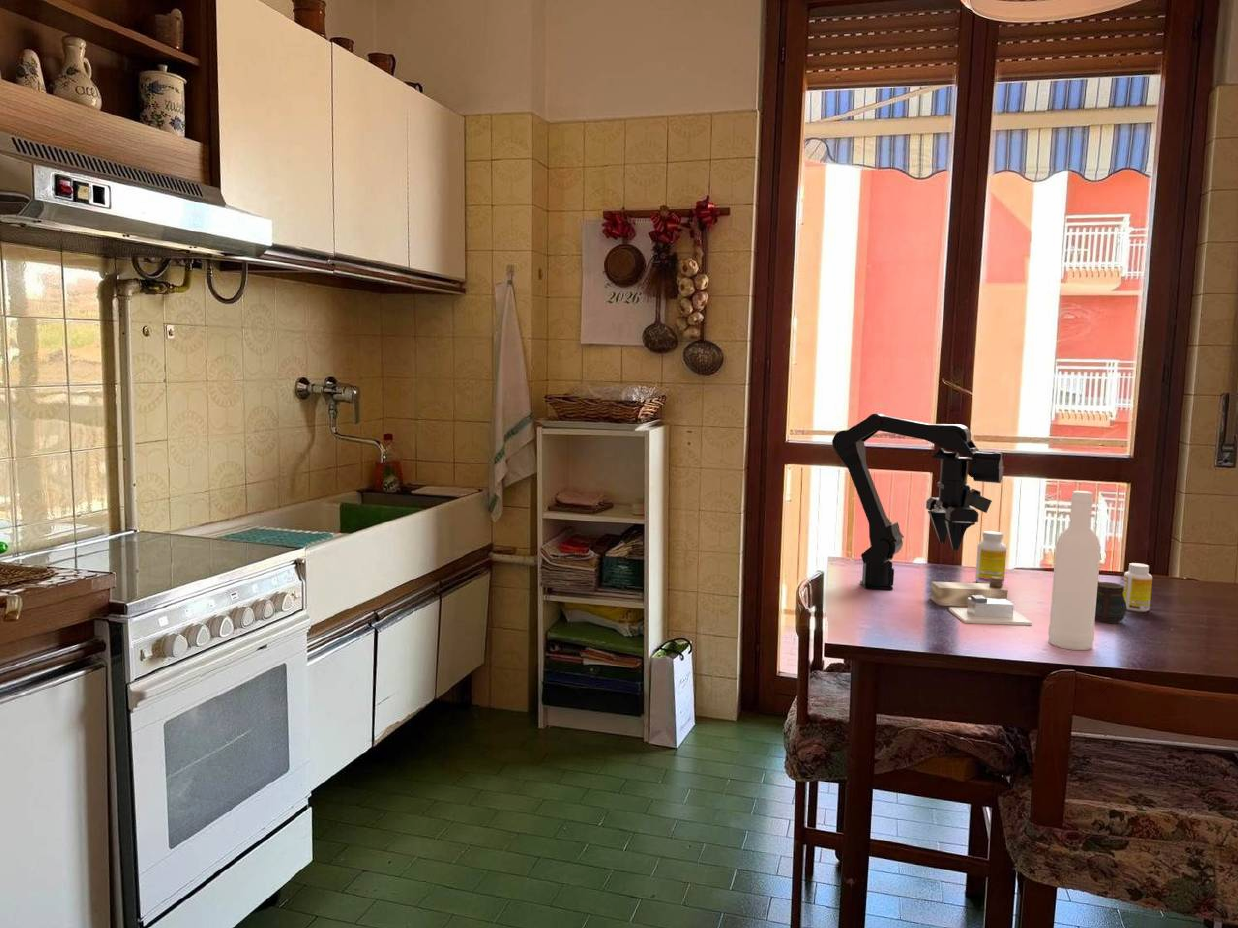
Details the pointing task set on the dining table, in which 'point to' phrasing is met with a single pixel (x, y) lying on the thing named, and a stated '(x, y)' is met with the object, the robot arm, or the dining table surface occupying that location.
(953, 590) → the body
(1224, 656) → the dining table surface
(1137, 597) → the supplement bottle
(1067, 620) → the bottle
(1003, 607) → the lever cap
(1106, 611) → the mate gourd
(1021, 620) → the board
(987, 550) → the supplement bottle
